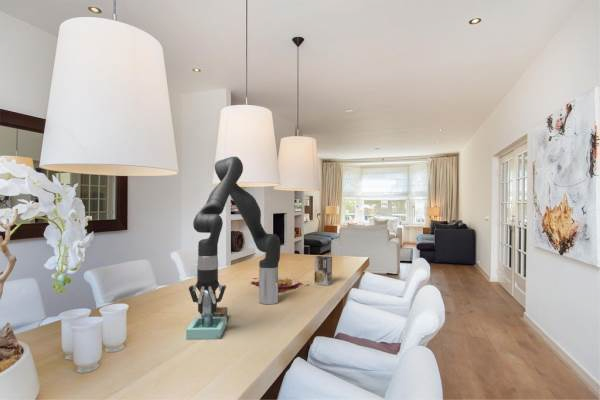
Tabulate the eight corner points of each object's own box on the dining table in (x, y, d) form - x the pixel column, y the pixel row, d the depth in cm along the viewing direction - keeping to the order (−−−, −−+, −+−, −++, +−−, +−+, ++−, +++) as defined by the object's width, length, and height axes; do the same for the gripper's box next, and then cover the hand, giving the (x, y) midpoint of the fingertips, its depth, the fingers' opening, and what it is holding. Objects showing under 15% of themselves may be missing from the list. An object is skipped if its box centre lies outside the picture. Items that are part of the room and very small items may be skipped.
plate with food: (278, 294, 183) (279, 287, 183) (249, 284, 202) (250, 278, 202) (310, 287, 200) (310, 281, 200) (281, 278, 219) (281, 272, 219)
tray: (226, 325, 134) (226, 316, 134) (220, 339, 121) (220, 329, 121) (195, 326, 133) (195, 317, 133) (186, 339, 120) (186, 329, 120)
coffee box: (332, 283, 204) (332, 256, 204) (327, 285, 198) (327, 258, 198) (319, 281, 209) (319, 255, 209) (313, 283, 203) (314, 256, 203)
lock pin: (213, 323, 129) (214, 286, 129) (211, 327, 125) (211, 289, 125) (203, 323, 129) (203, 286, 129) (200, 327, 125) (200, 289, 125)
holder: (227, 316, 145) (227, 306, 145) (223, 323, 136) (223, 313, 136) (206, 316, 145) (206, 307, 145) (200, 324, 136) (201, 314, 136)
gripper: (228, 265, 131) (228, 309, 131) (191, 265, 131) (190, 310, 131) (225, 269, 124) (224, 316, 124) (185, 269, 123) (185, 316, 123)
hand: (207, 312), depth 127 cm, fingers closed on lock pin, 4 cm apart
